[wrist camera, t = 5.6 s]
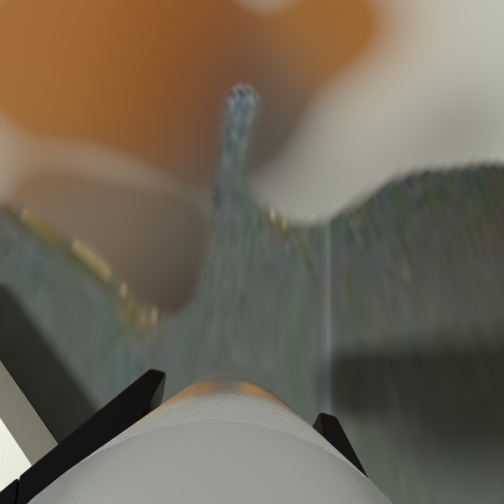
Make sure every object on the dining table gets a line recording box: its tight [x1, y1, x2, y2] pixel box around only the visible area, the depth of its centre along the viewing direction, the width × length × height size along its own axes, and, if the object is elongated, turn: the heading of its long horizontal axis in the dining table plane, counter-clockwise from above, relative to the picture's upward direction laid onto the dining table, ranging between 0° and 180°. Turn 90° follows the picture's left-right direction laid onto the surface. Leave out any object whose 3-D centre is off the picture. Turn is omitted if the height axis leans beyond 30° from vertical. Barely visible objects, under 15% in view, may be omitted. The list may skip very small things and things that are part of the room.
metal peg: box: [28, 366, 393, 504], centre depth 8 cm, size 4×4×13 cm
